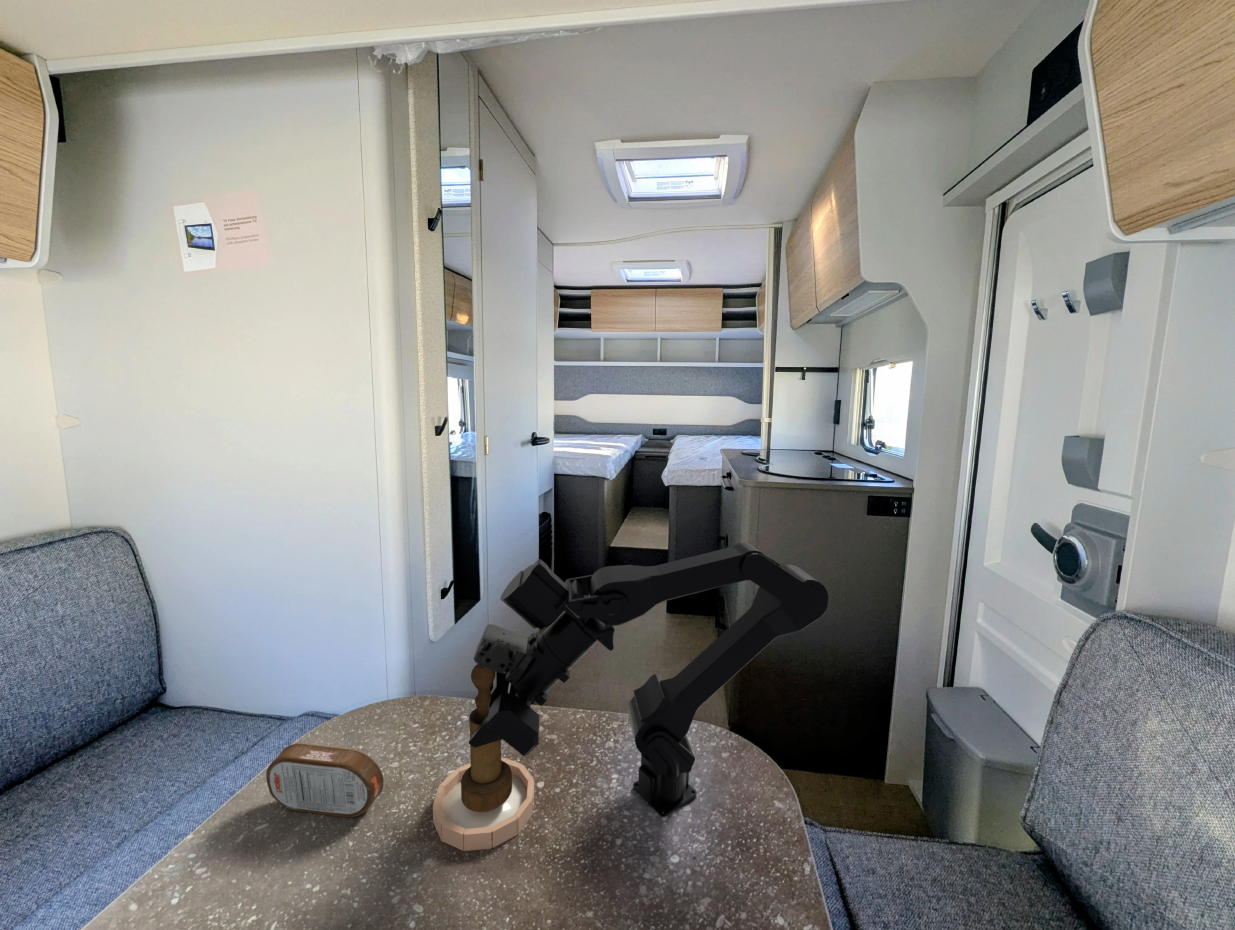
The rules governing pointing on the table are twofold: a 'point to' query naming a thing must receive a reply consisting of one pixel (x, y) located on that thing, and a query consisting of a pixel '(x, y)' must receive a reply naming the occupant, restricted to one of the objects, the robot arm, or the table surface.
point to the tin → (324, 780)
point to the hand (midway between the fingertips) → (474, 733)
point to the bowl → (482, 827)
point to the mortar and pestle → (484, 756)
